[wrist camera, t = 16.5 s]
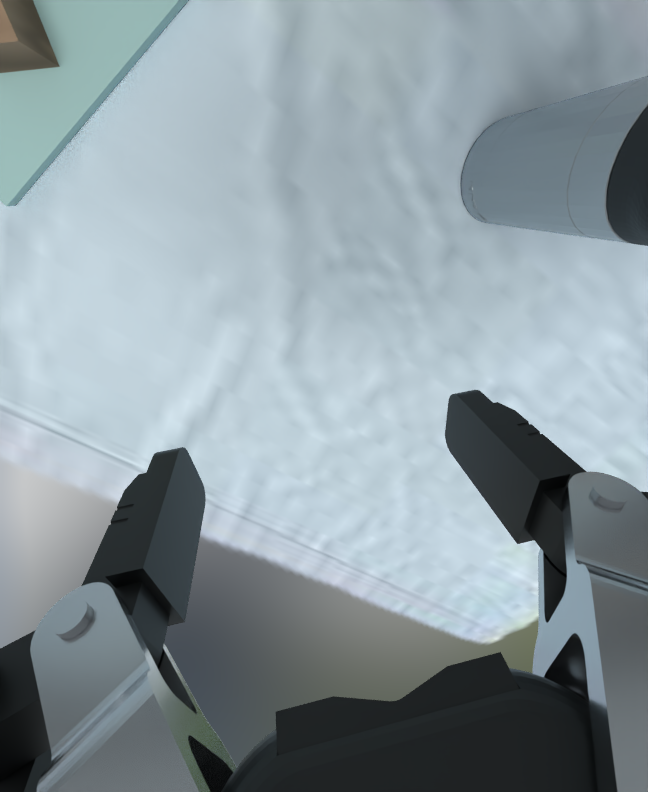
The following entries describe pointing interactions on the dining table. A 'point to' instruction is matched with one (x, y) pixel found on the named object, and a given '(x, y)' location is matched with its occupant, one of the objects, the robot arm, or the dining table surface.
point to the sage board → (70, 80)
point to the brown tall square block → (23, 38)
